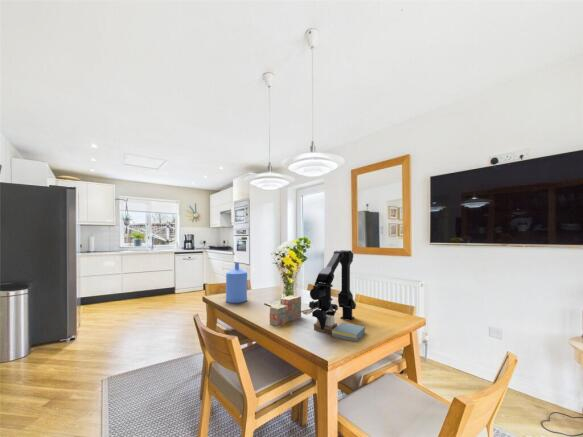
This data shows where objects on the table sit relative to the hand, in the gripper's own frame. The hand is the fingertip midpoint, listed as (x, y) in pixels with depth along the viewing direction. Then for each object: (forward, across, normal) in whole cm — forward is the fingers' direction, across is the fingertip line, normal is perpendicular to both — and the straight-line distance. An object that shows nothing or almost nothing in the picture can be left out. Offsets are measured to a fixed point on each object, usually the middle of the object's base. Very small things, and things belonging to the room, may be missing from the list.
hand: (325, 327), depth 137 cm
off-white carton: (-2, 0, +2) cm, 3 cm away
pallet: (+1, 0, 0) cm, 1 cm away
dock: (+1, 0, +12) cm, 13 cm away
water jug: (+1, -19, -82) cm, 85 cm away
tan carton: (-2, 0, -2) cm, 3 cm away
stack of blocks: (+2, -2, -26) cm, 26 cm away
